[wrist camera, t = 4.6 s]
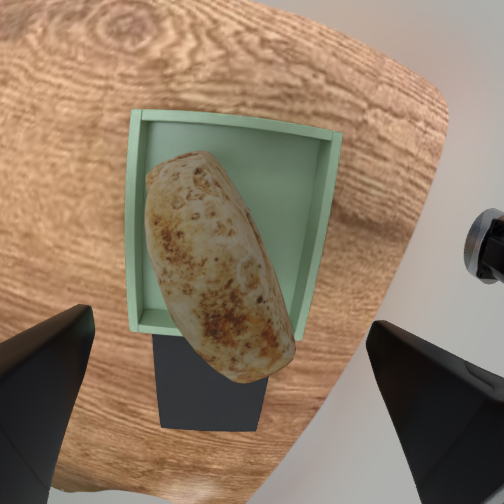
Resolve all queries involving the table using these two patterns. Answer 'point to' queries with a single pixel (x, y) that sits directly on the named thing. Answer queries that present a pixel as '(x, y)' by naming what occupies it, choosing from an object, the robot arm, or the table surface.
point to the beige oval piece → (215, 269)
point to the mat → (201, 391)
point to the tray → (251, 190)
